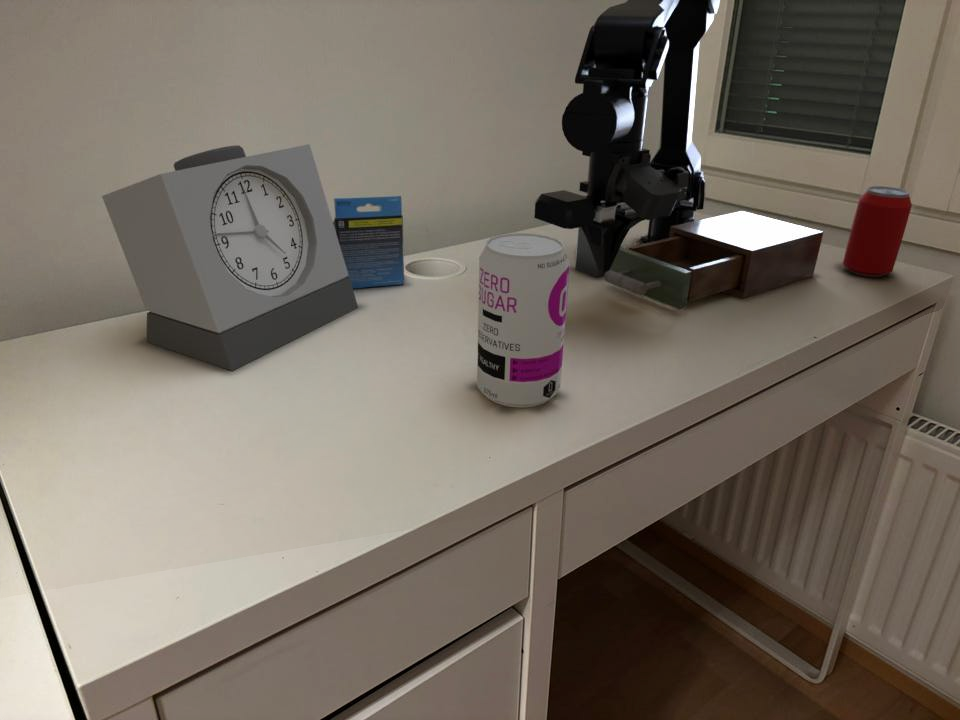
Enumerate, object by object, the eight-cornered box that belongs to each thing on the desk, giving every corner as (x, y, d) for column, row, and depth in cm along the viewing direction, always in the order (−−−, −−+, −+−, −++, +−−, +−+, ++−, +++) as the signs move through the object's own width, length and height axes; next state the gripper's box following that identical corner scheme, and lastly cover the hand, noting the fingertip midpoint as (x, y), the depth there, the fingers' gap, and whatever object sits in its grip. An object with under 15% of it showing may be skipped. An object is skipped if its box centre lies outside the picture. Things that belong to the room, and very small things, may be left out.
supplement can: (567, 378, 72) (578, 236, 66) (547, 417, 65) (558, 263, 59) (492, 366, 75) (496, 227, 68) (465, 402, 68) (466, 251, 61)
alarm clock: (232, 370, 73) (201, 171, 64) (132, 337, 80) (92, 152, 70) (358, 307, 89) (347, 140, 80) (266, 284, 96) (247, 128, 86)
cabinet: (742, 298, 94) (752, 250, 91) (664, 270, 104) (670, 226, 101) (813, 275, 103) (823, 231, 100) (734, 251, 112) (742, 210, 109)
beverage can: (880, 265, 108) (902, 186, 102) (899, 280, 102) (924, 197, 96) (834, 263, 108) (854, 184, 103) (850, 277, 102) (873, 194, 97)
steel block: (575, 269, 103) (579, 212, 99) (596, 264, 106) (602, 207, 102) (596, 277, 100) (601, 219, 96) (618, 272, 102) (624, 214, 99)
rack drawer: (655, 317, 85) (661, 279, 83) (585, 287, 94) (588, 252, 92) (755, 286, 96) (762, 252, 93) (683, 261, 105) (688, 229, 102)
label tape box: (400, 276, 99) (397, 188, 94) (405, 286, 96) (402, 195, 90) (336, 280, 97) (329, 191, 92) (339, 291, 94) (332, 198, 88)
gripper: (608, 158, 68) (594, 308, 75) (729, 142, 78) (706, 275, 85) (534, 141, 76) (528, 278, 83) (652, 128, 86) (638, 251, 93)
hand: (603, 271), depth 86 cm, fingers closed
